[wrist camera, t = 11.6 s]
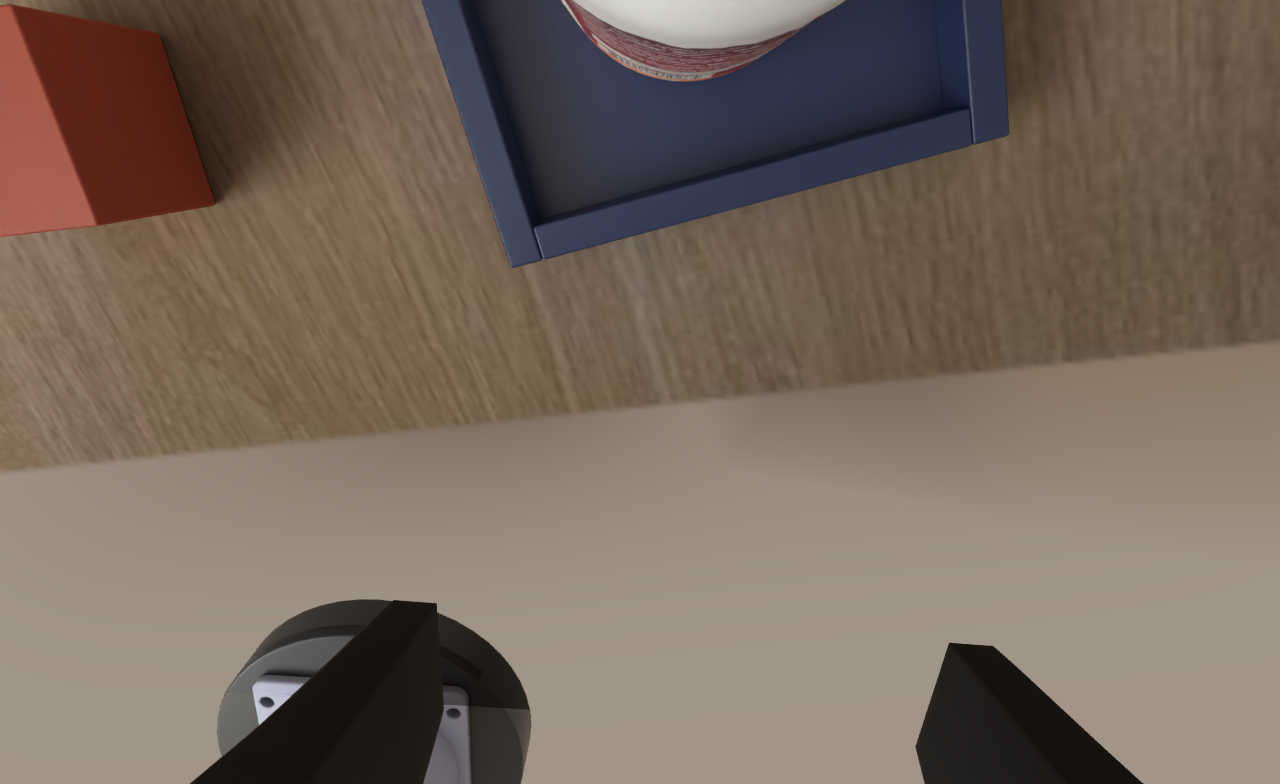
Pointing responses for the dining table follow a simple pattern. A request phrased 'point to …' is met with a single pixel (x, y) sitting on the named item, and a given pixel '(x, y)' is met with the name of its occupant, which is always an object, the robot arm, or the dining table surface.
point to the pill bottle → (692, 32)
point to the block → (89, 126)
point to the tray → (706, 114)
